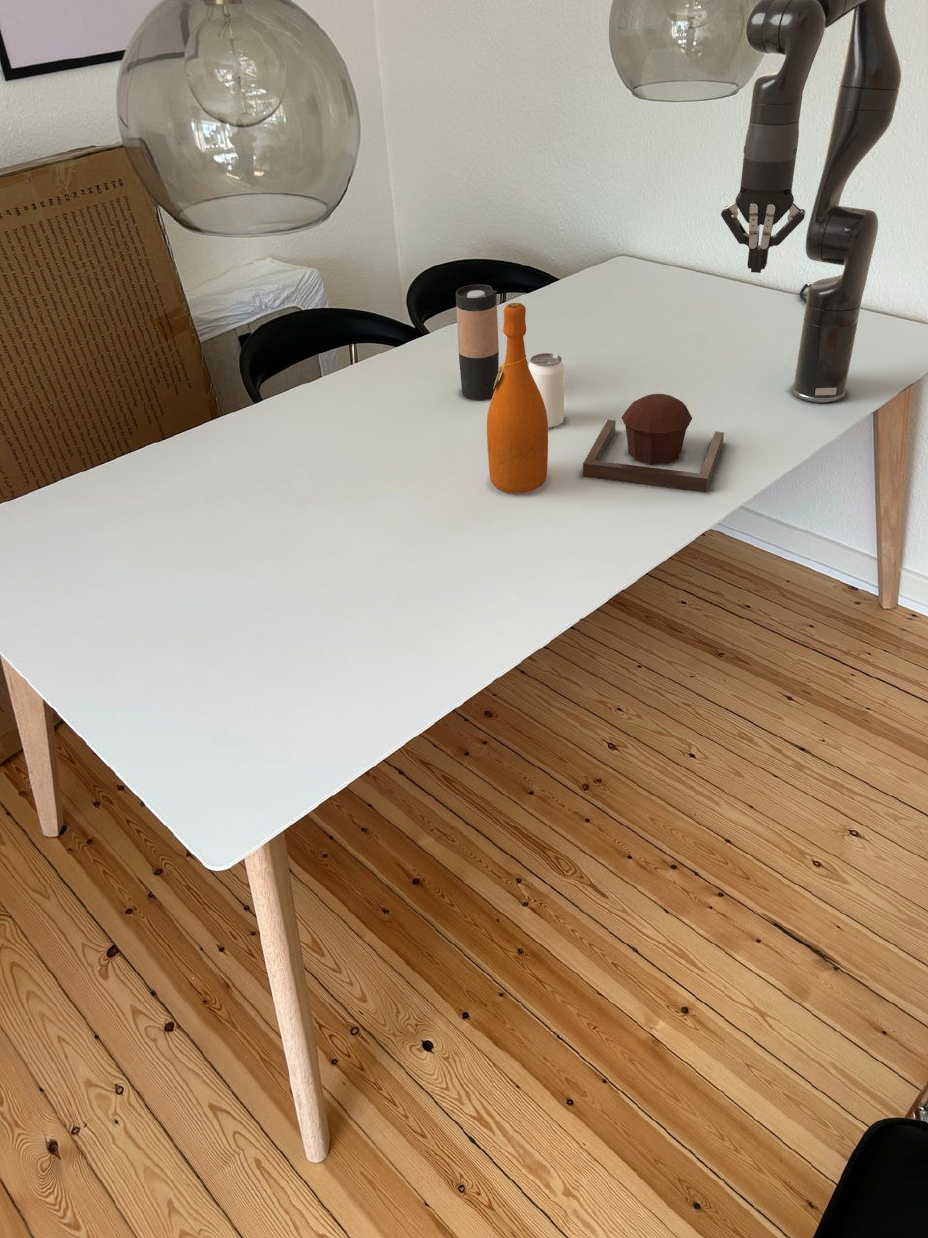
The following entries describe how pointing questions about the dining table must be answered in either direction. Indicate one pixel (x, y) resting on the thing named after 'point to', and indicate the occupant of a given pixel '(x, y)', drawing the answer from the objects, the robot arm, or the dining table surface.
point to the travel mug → (477, 340)
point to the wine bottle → (517, 416)
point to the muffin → (656, 428)
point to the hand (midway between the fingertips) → (756, 270)
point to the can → (550, 384)
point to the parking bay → (648, 474)
